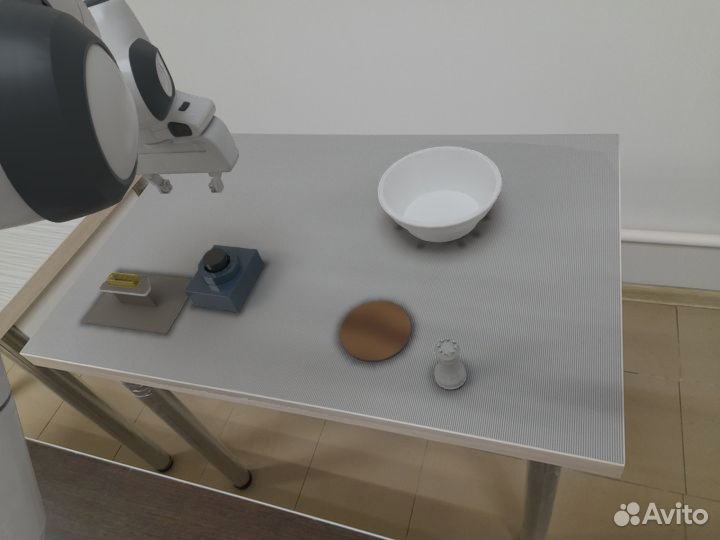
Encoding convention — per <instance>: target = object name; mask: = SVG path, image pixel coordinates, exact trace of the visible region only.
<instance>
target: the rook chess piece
mask: <svg viewBox="0 0 720 540" xmlns="http://www.w3.org/2000/svg"><path fill="white" fill-rule="evenodd" d="M434 352H435V355H436V356H437V360H438V362H437V363H436V365H435V366H434V372H433V375H434V376H433V377H434V380H435V382H436V384H437V385H438V386H439V387H441V388H443V389H445V390H455V389H459V388H460V387H462V386H463V385H464V384H465V382H466V380H467V375H468V374H467V371H466V367H465V365H464V364H463V362H461V360H459V357H460V352H461V347H460V344H459V343H458V342H457V341H456V340H455V339H451V337H449V336H448V337H447V336H446V338H445V339H444V338H440V339H439V342H437V343H436V344H435V347H434Z"/></svg>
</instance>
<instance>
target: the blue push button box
mask: <svg viewBox="0 0 720 540" xmlns="http://www.w3.org/2000/svg"><path fill="white" fill-rule="evenodd" d="M213 248H221V249H223V250H224V251H225V253H226V255H227V257H228V258H229V264H228V266H227V267H226V268H225V269H223V270H222V271H220V272H216V273H211V272H209V271H208V270H207V268H206V267H205V265H204V263H203V262H202V258H201V259H200V261H199V262H198V264H197V270H196V271H195V274H194V275H193V277H192V278H191V279H192V280H191V281H190V283H189V284H188V286H187V288H186V289H185V293H186V294H187V296H188V299H189V300H190V302H191V303H192V305H193V306H194V307H199V308H205V309H211V310H217V311H218V310H219V311H225V312H232V313H237V314H238V313H240V310H241V309H242V307H243V305H244V303H245V301H246V300H247V298H248V295H250V292H251V290H252V288H253V287H254V285H255V283H256V281H257V279H258V277H259V276H260V274H261V272H262V271H263V268H264V267H265V264H264V261H263V259H262V257H261V254H260V253H259V250H258V249H257V248H248V247H239V246H231V245H230V246H229V245H220V244H213V245H212V247H211V249H213Z"/></svg>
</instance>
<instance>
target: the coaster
mask: <svg viewBox="0 0 720 540" xmlns="http://www.w3.org/2000/svg"><path fill="white" fill-rule="evenodd" d="M411 334H412V324H411V321H410V318H409V315H408V314H407V312H406V311H405V310H404V309H403V308H402V307H400V306H399V305H397V304H394V303H392V302H389V301H379V300H377V301H370V302H367V303H364V304H363V303H362V305H359V306H358V307H355V308H354V309H353V310H352V311H350V313H349V314H347V315H346V317H345V319H344V320H343V322H342V324H341V327H340V340H341V344H342V346H343V348H344V350H345V351H346V352H347V353H348V354H349V355H350V356H351V357H353V358H355V359H357V360H359V361H362V362H367V363H376V362H383V361H386V360H388V359H391V358H393V357H395V356H396V355H398V354H399V353H400V352H401V351H403V349H404V348H405V347H406V346H407V344H408V342H409V341H410V338H411Z"/></svg>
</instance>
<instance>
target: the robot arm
mask: <svg viewBox="0 0 720 540" xmlns="http://www.w3.org/2000/svg"><path fill="white" fill-rule="evenodd" d="M216 111H217V107H216V104H215V103H214V101H213V100H212V99H210V98H207V97H203V96H198V95H195V94H190V93H187V92H184V91H181V90H179V89H176V86H175V83H174V80H173V77H172V75H171V73H170V70H169V68H168V66H167V64H166V62H165V60H164V58H163V56H162V54H161V52H160V50H159V48H158V47H157V46H156V45H154V44H153V43H152V41H151V40H150V38H149V36H148V35H147V32H146V31H145V29H144V28H143V25H142V24H141V22H140V20H139V19H138V17H137V16H136V14H135V13H134V11H133V9H132V8H131V7H130V6H129V4H128V3H127V1H126V0H0V231H2V230H3V231H4V230H7V229H12V228H17V227H21V226H26V225H31V224H35V223H39V222H43V221H47V222H51V223H56V224H63V223H66V222H69V221H74V220H78V219H80V218H84V217H87V216H90V215H93V214H96V213H99V212H101V211H104V210H107V209H109V208H111V207H113V206H115V205H118V204H120V203H121V201H122V200H123V199H124V197H125V196H126V194H127V192H128V191H129V190H130V188H131V186H132V184H133V183H134V181H135V179H136V176H142V177H143V178H144V180H145V181H147V182H148V183H150V184H151V185H153V186H154V187H155V188H157V190H158V192H159V194H161V195H168V194H171V192H172V191H173V185H172V184H171V181H170V179H169V178H166V179H165V178H164V177H163V176H161V175H178V174H179V175H181V174H182V175H184V174H185V175H186V174H207V175H208V176H209V177H210V178H211V179H210V182H208V188H209V190H210V192H211V194H221V193H222V192H223V191H224V188H225V184H224V183H223V180H222V175H223V173H231V172H232V170H233V169H234V168H235V166H236V164H237V163H238V160H239V158H240V151H239V149H238V145H237V144H236V142H235V140H234V138H233V135H232V134H231V132H230V130H229V128H228V126H227V125H226V124H225V122H224V121H223V120H222V119H221V118H219V117H218V116H216V115H215V114H216ZM40 492H41V491H40V488H39V485H38V481H37V477H36V474H35V470H34V466H33V463H32V459H31V454H30V451H29V447H28V445H27V440H26V437H25V433H24V430H23V425H22V422H21V418H20V416H19V412H18V408H17V405H16V400H15V397H14V393H13V389H12V388H11V383H10V380H9V376H8V373H7V370H6V367H5V364H4V359H3V357H2V353H1V352H0V540H45V539H46V534H47V533H46V532H47V523H48V522H47V521H48V520H47V512H46V510H45V506H44V503H43V499H42V495H41V493H40Z"/></svg>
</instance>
